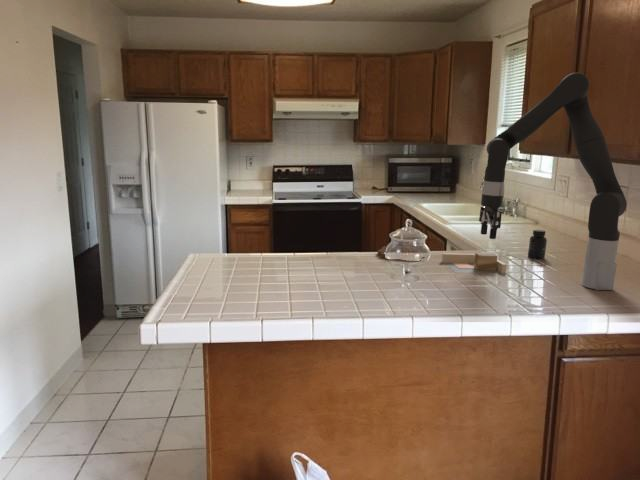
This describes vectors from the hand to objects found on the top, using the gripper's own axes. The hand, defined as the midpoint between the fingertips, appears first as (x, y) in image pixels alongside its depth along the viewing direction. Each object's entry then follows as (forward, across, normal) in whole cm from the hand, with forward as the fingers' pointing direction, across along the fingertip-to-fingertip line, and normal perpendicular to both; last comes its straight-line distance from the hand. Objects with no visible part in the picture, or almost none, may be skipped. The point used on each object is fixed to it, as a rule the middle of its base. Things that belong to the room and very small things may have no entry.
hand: (487, 236), depth 196 cm
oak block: (+13, 0, 0) cm, 13 cm away
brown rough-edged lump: (+14, +24, +26) cm, 39 cm away
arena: (+14, +4, +4) cm, 14 cm away
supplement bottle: (+14, +23, -32) cm, 42 cm away
